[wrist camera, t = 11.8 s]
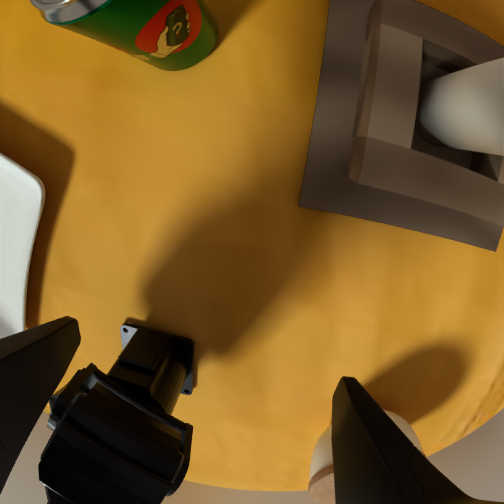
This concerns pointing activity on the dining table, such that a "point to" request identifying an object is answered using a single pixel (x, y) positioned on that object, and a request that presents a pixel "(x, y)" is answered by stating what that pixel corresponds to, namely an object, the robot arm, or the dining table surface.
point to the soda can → (141, 27)
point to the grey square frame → (398, 125)
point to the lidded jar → (322, 461)
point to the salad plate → (16, 240)
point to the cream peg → (464, 109)
